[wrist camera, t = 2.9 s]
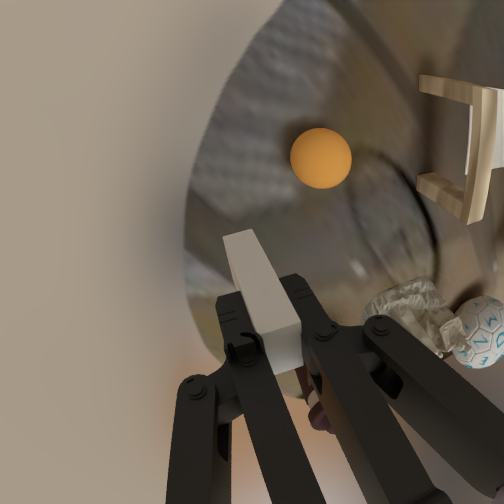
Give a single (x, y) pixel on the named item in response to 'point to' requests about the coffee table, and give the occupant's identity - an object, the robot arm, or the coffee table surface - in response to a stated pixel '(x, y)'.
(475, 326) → the puzzle ball
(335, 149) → the ball
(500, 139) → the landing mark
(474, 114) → the bridge
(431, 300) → the ceramic cottage
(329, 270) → the coffee table surface
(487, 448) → the robot arm
